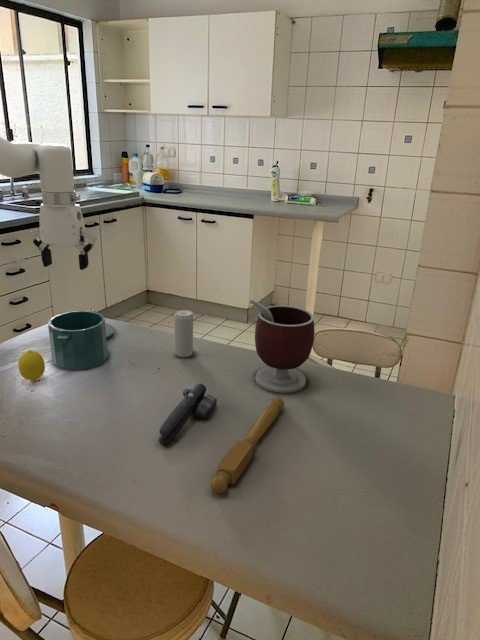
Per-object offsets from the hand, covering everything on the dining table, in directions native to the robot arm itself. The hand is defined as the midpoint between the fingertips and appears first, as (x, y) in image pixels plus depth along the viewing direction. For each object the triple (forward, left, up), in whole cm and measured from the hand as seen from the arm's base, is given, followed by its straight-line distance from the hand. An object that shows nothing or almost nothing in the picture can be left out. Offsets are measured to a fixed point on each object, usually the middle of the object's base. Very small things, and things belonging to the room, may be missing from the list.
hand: (65, 267), depth 118 cm
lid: (+1, +7, -22) cm, 23 cm away
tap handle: (+51, -38, -22) cm, 67 cm away
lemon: (-1, -20, -22) cm, 30 cm away
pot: (+5, -7, -22) cm, 24 cm away
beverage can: (+31, -1, -22) cm, 38 cm away
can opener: (+37, -32, -22) cm, 54 cm away
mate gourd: (+56, -11, -22) cm, 61 cm away
